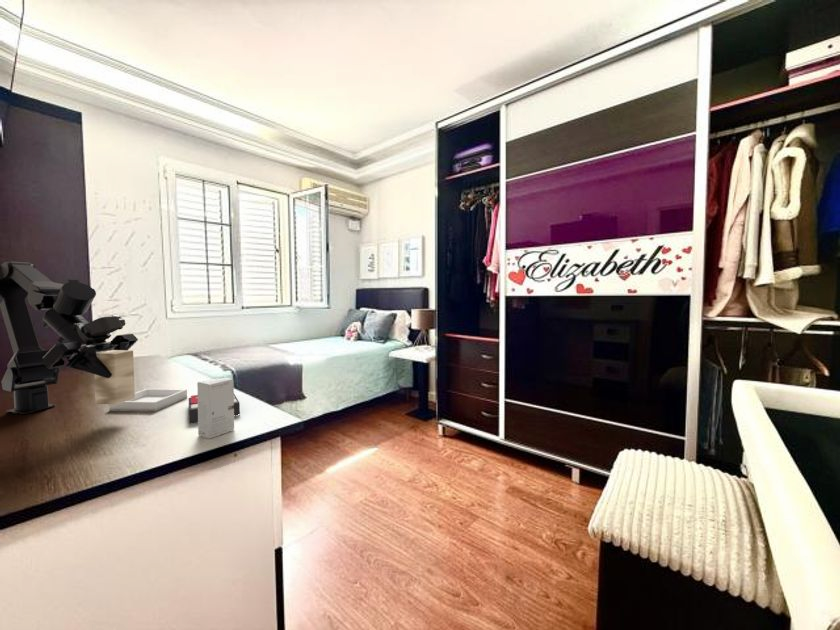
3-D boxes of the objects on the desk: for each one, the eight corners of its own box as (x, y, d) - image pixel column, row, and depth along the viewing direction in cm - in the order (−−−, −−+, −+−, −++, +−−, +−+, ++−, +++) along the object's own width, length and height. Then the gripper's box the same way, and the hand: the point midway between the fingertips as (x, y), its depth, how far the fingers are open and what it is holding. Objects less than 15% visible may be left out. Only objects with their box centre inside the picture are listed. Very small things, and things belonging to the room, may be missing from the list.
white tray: (109, 410, 90) (109, 401, 90) (146, 396, 102) (146, 388, 102) (155, 411, 90) (154, 402, 89) (187, 397, 102) (186, 389, 102)
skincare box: (210, 439, 73) (208, 384, 73) (196, 435, 75) (195, 382, 74) (235, 429, 79) (235, 378, 78) (223, 426, 81) (222, 376, 80)
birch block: (95, 404, 79) (93, 353, 79) (114, 397, 84) (113, 350, 84) (116, 404, 79) (114, 353, 79) (134, 398, 84) (133, 350, 84)
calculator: (233, 389, 100) (239, 399, 88) (233, 403, 100) (240, 416, 88) (188, 394, 94) (188, 407, 82) (188, 410, 94) (189, 424, 82)
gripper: (52, 305, 71) (106, 358, 72) (129, 303, 90) (172, 345, 90) (17, 342, 72) (71, 394, 72) (101, 332, 90) (143, 373, 91)
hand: (120, 374), depth 81 cm, fingers closed on birch block, 5 cm apart
